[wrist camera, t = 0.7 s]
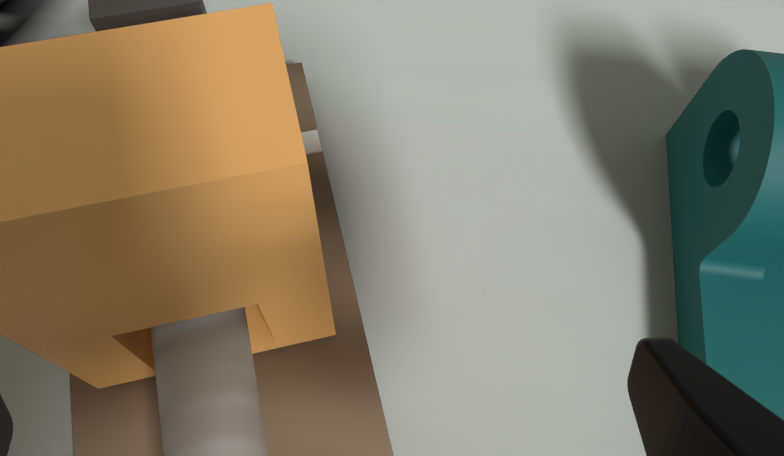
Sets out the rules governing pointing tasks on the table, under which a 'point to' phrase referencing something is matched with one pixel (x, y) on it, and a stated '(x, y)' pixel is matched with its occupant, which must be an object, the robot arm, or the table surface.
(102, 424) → the pipe board
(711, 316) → the bracket
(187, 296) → the orange tan block
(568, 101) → the table surface
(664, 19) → the table surface
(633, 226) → the table surface
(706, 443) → the robot arm
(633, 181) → the table surface
